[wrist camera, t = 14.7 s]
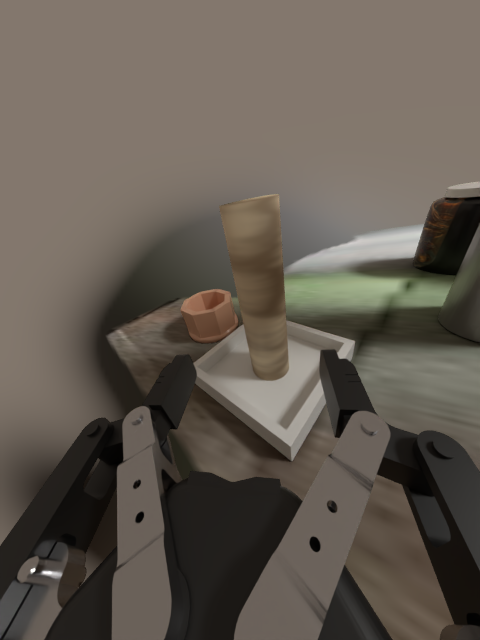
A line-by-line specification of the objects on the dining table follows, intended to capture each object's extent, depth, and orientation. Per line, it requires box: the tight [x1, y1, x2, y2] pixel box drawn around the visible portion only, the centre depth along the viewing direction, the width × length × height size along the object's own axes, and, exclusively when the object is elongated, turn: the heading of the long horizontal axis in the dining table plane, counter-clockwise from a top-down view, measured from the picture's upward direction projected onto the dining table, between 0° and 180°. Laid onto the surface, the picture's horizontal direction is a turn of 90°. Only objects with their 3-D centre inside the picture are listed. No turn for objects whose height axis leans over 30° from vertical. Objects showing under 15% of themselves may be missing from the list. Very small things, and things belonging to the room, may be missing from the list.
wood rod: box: [219, 194, 289, 381], centre depth 22 cm, size 5×5×20 cm
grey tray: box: [193, 320, 355, 461], centre depth 27 cm, size 16×16×3 cm
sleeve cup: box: [181, 289, 238, 343], centre depth 38 cm, size 10×10×6 cm
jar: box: [413, 182, 480, 275], centre depth 40 cm, size 12×12×15 cm
